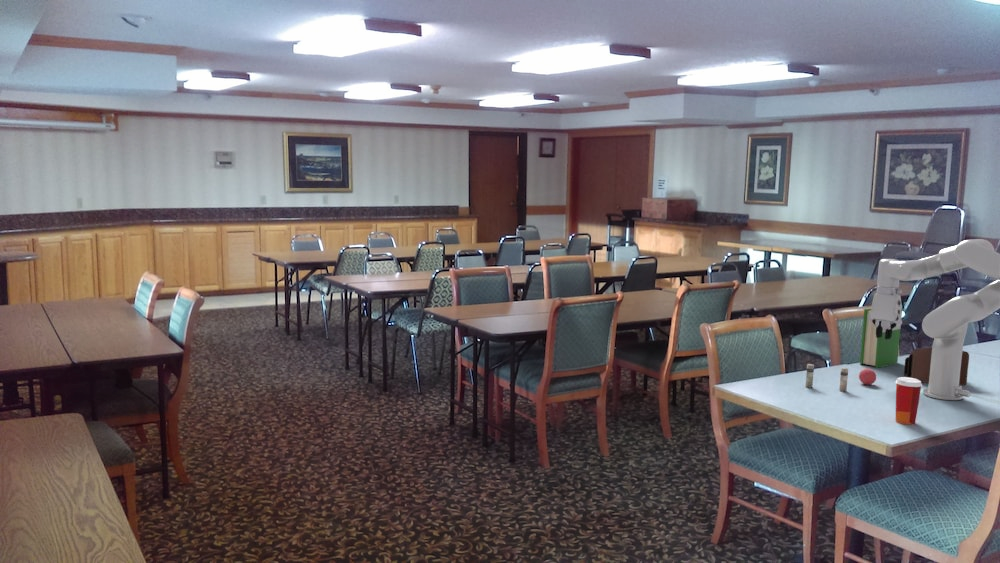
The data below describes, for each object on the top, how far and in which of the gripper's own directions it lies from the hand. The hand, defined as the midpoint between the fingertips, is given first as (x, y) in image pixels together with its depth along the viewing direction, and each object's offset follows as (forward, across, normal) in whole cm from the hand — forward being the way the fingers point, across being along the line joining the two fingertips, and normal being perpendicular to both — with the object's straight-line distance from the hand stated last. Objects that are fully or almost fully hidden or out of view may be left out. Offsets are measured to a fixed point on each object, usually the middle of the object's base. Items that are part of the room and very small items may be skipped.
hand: (883, 337), depth 298 cm
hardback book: (+17, +16, -29) cm, 38 cm away
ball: (+14, 0, +10) cm, 17 cm away
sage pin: (+17, +10, +32) cm, 38 cm away
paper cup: (+17, -32, +46) cm, 58 cm away
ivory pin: (+17, 0, +26) cm, 32 cm away
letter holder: (+18, -11, -20) cm, 29 cm away
